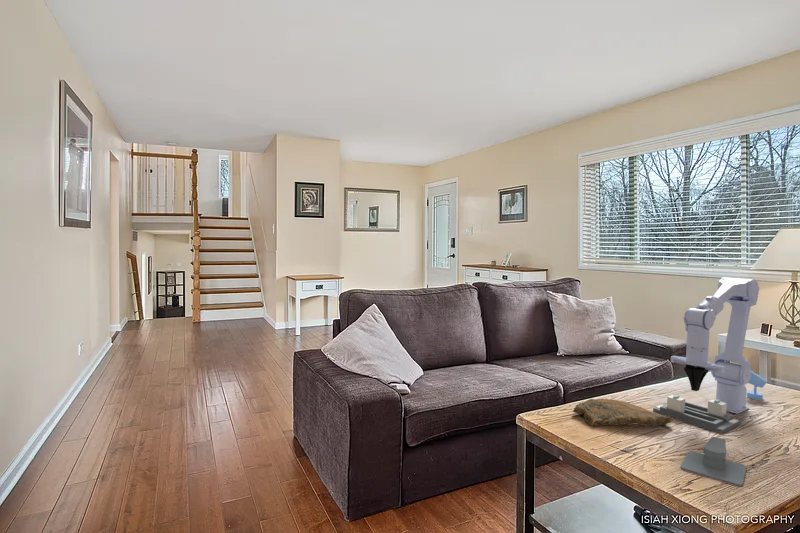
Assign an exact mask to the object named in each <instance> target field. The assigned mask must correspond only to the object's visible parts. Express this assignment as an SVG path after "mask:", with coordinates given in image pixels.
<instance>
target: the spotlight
mask: <svg viewBox="0 0 800 533" xmlns="http://www.w3.org/2000/svg"><path fill="white" fill-rule="evenodd" d="M766 383H767V381H766V379H764V378H762V377H761V376H760V375H758V374H757V373H755V371H753V370H751V378H750V381H749V382H748V383H747V384H750V385H752V386H753V387H754V388H753V390H752V391H751V390H749V391H748V390H747V393H746V398H748V399H751V400H757V401H762V400H763V398H764V394H763V393H761V392H757V388H761V389H763V388H764V386H765V385H767V384H766Z"/></svg>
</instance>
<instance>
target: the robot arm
mask: <svg viewBox="0 0 800 533" xmlns="http://www.w3.org/2000/svg"><path fill="white" fill-rule="evenodd" d="M759 292H760V286H759V283H758V281H757V280H756V279H755V278H752V279H747V278H736V277H734V278H733V277H726V276H723V277H721V278H720V279H719V281H718V283H717V290H716V291H715V292H714V293H713V295H707V296H706V297H705V298H704V299H702V301H700V302H699V303H698V304H697V305H696V306H695V307H690V308H688V309H687V310H685V312H684V316H683V323H684V325H685V332H686V333H687V334H686V349H685V350H686V353H685V357H684V356H680V355H679V356H678V355H672V356H670V363H675V364H680V365H684V366H685V367H683V371H684V372H685V374H686V376H687V378H688V381H689V385H690V390H691V391H693V392H699V391H700V388H701V385H702V382H703V380H704V379H705V377H706V375H707V374H708V373H709V371H710V372H711V375H712V377H713V378H714V381H716V394H715V400H717V399H719V400H721V402H724V403H727V407H726V412H728V413H731V414H732V413H733V414H740V413H742V412H744V411H746V410H749V409H750V407H749V406H747V392H748V390H747V387H746V385H747V384H749V383H748V382H749V381H750V378H751V371H752V370H751V366H752V365H751V364H752V363H751V362H750V361H749V359H747V358H746V357H745V356H744V355H743V350H744V347H745V340H746V335H747V329H748V323H749V317H750V311H751V307H753V306H755V305H757V301H758V299H759V298H758V297H759ZM724 303H727V304H729V305H730V306H731V311H730V312H731V313H730V318H729V323H728V328H727V334H726V339H725V340H726V341H725V345H724V350H723V352H721V353H718V354H716V355H715V356H714V359H713V361H712V362H710V361H709V347H710V329H711V328H713V326H714V324H715V321H716V318H717V316H718V315H719V314H720V313H721V312H722V311H723V310H724Z"/></svg>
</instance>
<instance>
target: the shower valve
mask: <svg viewBox="0 0 800 533" xmlns="http://www.w3.org/2000/svg"><path fill="white" fill-rule="evenodd" d="M726 444H727V443H726V439H725V438H720V437H717V436H711V438H710V439H709V440H707V442H706V443H705V444H704V445H703V453H702V452H698V451H694V450H688V451H687V453H686V455H685V457H684V459H683V461H682V462H681V464H680V469H681V470H682V471H685V472H688V473H692V474H695V475H698V476H702V477H705V478H708V479H712V480H715V481H719V482H722V483H725V484H729V485H732V486H736V487H743V486H744V482H745V477H746V473H747V466H746V465H745V464H743V463H740V462H735V461H732V460H728V459H726V458H727V446H726Z"/></svg>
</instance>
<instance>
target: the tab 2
mask: <svg viewBox="0 0 800 533" xmlns="http://www.w3.org/2000/svg"><path fill="white" fill-rule="evenodd" d="M726 407H727V403H724V402H721V400H719V399H717V400H716V399H709V400H707V408H708V411H707V413H711V414H714V415H717V416H721V417H724V416H726V413H727V411H726Z"/></svg>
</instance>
